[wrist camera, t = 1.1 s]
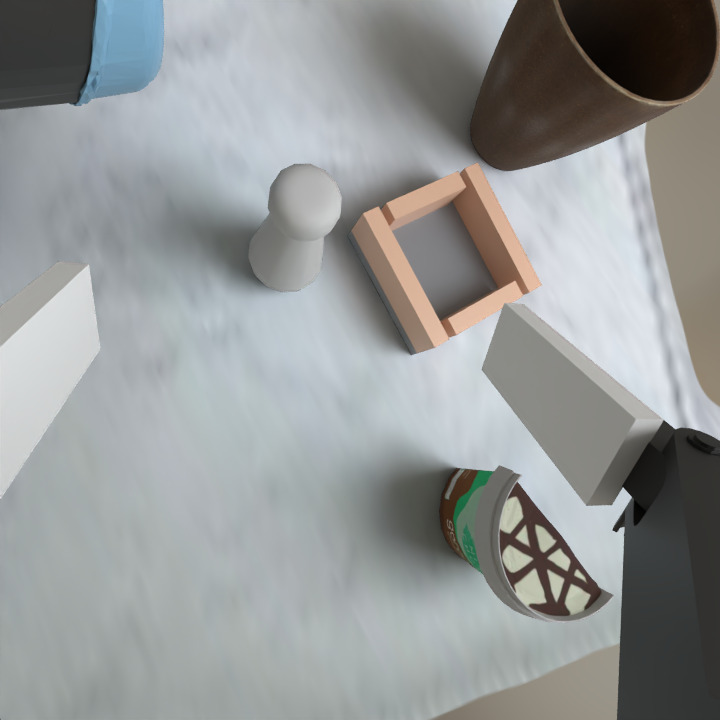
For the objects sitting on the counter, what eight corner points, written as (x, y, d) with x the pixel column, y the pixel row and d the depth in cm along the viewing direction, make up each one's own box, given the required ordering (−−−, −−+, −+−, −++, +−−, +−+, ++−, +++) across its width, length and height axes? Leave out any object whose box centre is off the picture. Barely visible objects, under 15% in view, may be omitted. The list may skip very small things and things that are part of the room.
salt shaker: (311, 231, 39) (351, 145, 26) (321, 295, 38) (366, 239, 26) (242, 233, 37) (250, 143, 24) (251, 301, 36) (264, 244, 24)
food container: (398, 504, 38) (455, 534, 28) (447, 455, 40) (516, 468, 30) (483, 609, 39) (566, 672, 30) (527, 557, 41) (618, 601, 31)
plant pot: (574, 109, 49) (732, -29, 34) (549, 230, 46) (709, 139, 31) (455, 44, 45) (572, -144, 30) (420, 171, 42) (529, 35, 27)
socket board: (347, 235, 39) (363, 213, 35) (451, 188, 43) (477, 162, 39) (411, 354, 40) (434, 347, 35) (509, 298, 44) (541, 285, 39)
